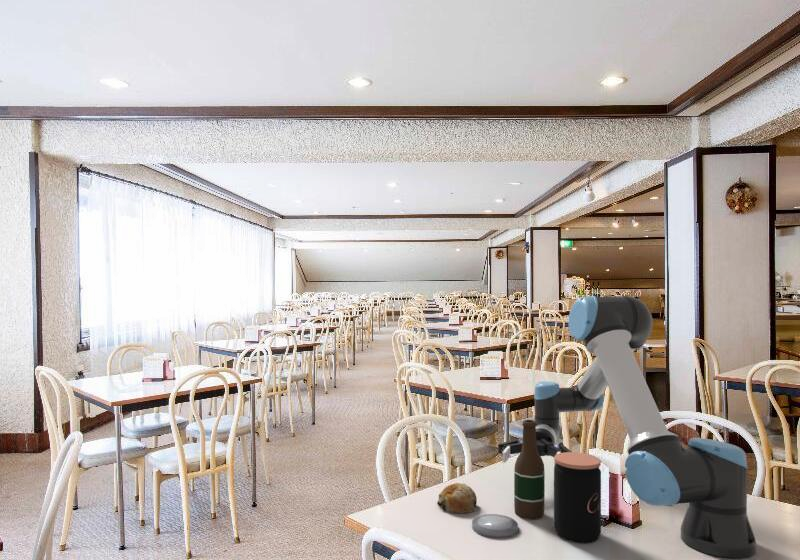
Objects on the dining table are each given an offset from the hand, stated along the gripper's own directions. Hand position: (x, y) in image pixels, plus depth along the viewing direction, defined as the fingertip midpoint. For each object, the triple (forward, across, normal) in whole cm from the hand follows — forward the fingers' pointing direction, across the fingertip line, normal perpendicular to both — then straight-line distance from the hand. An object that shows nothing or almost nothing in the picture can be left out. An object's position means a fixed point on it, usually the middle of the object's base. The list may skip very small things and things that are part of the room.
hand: (529, 460), depth 151 cm
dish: (+15, +6, -13) cm, 20 cm away
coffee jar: (+11, -13, -13) cm, 21 cm away
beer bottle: (+3, 0, -13) cm, 13 cm away
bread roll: (+6, +18, -13) cm, 23 cm away
